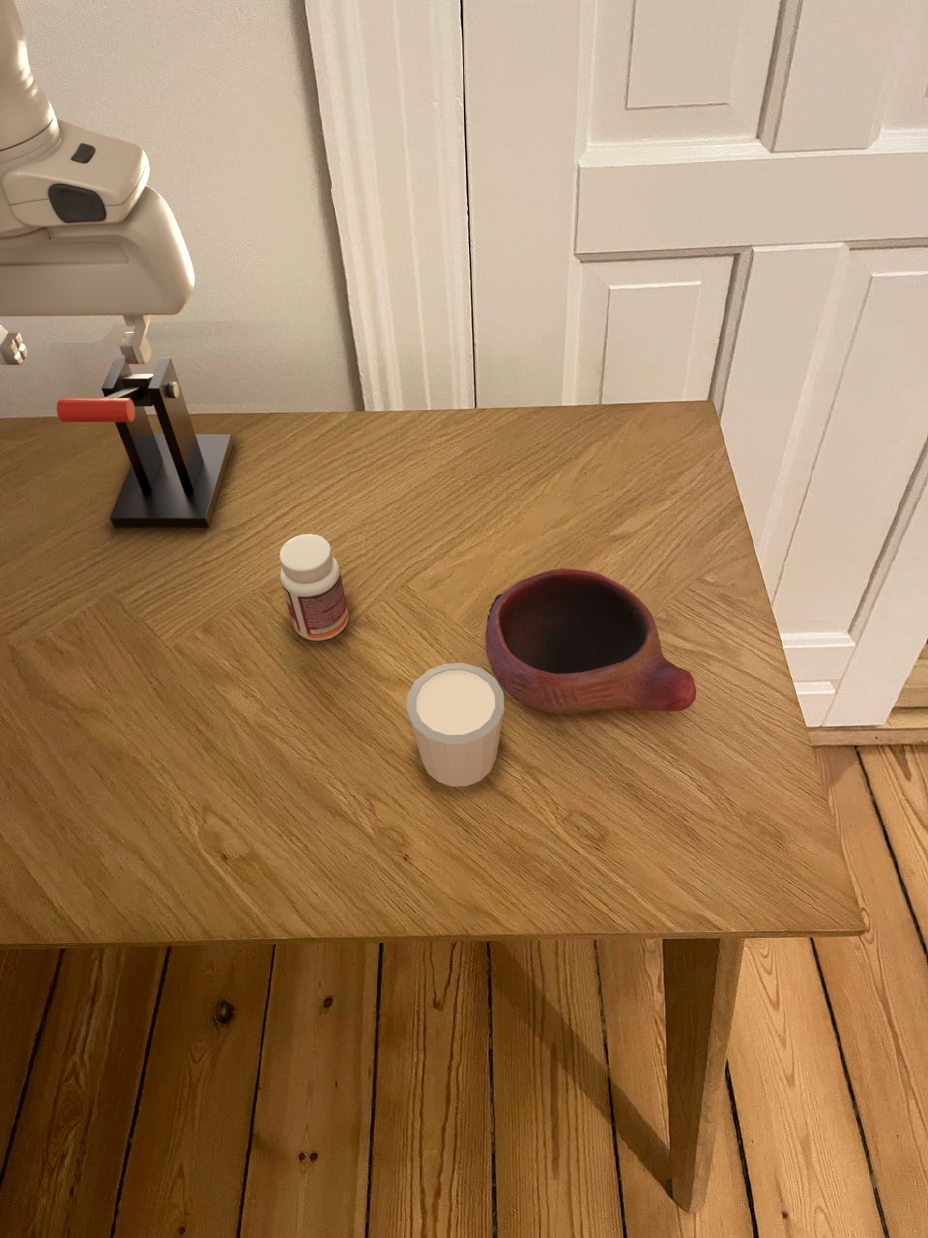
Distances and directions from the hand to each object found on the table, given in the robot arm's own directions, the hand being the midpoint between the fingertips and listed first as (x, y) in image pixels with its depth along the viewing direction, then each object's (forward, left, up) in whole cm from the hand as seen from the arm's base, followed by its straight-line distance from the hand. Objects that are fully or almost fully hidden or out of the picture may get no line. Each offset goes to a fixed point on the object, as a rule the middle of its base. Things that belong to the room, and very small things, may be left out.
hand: (77, 360), depth 70 cm
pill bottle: (+11, -15, -21) cm, 27 cm away
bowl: (+28, -30, -20) cm, 46 cm away
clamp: (+4, +8, -20) cm, 22 cm away
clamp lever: (+2, +4, -8) cm, 9 cm away
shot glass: (+16, -32, -20) cm, 41 cm away
